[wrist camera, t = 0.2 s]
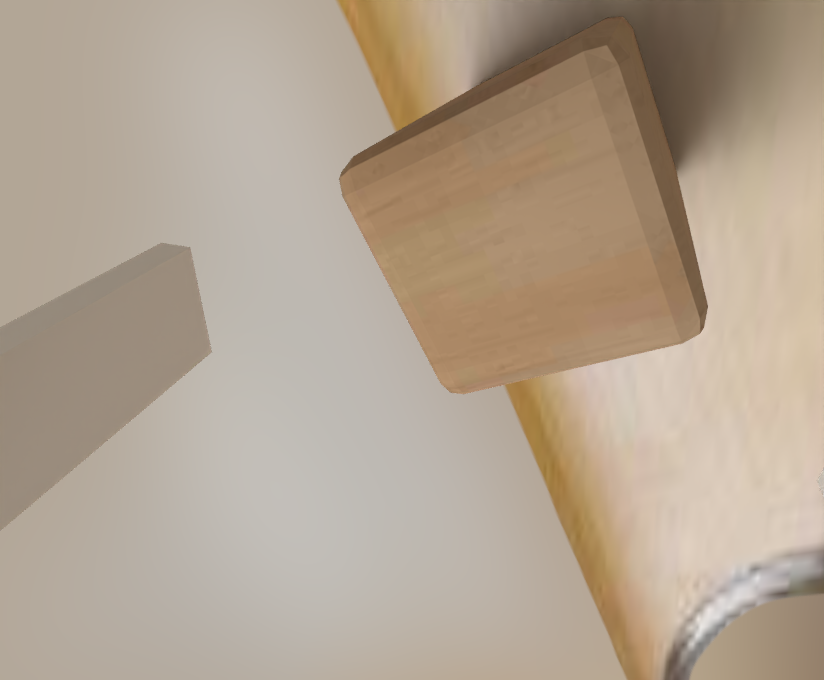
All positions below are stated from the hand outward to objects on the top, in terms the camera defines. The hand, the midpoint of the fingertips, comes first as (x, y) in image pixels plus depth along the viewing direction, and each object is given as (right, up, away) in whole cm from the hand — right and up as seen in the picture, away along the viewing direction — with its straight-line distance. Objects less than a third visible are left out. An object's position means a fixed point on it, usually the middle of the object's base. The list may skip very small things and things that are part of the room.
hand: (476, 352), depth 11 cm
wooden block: (+8, +13, +24) cm, 28 cm away
